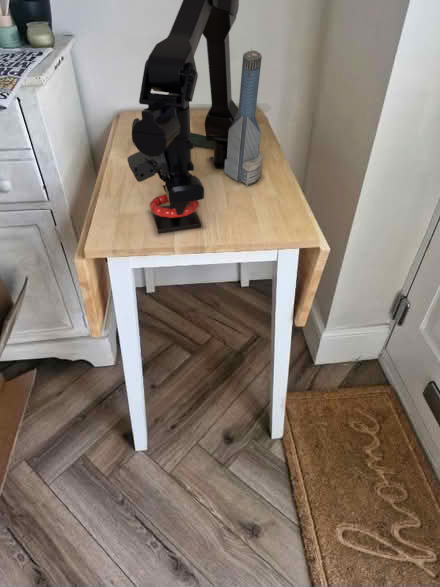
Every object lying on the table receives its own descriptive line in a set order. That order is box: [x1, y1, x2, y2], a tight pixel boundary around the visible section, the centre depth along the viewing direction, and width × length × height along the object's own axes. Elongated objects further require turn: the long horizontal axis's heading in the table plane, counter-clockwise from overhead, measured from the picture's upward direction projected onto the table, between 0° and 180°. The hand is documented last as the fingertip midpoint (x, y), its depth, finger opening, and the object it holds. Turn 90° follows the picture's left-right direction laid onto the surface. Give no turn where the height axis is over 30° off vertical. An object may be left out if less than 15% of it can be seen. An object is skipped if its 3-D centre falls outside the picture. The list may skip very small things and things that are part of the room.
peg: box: [150, 202, 202, 235], centre depth 88 cm, size 9×9×8 cm
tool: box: [131, 117, 214, 149], centre depth 117 cm, size 28×6×7 cm, turn 80°
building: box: [223, 48, 264, 187], centre depth 96 cm, size 10×9×30 cm
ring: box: [148, 193, 200, 218], centre depth 88 cm, size 10×10×2 cm
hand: (178, 211), depth 85 cm, fingers closed on ring, 2 cm apart
